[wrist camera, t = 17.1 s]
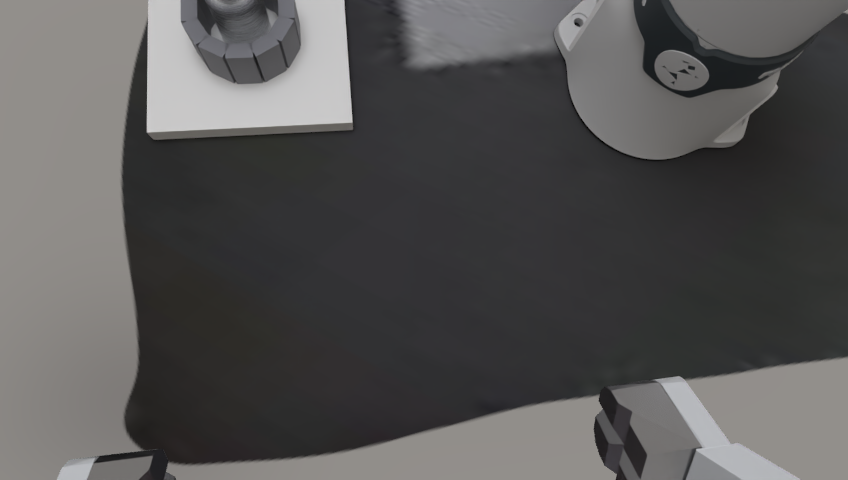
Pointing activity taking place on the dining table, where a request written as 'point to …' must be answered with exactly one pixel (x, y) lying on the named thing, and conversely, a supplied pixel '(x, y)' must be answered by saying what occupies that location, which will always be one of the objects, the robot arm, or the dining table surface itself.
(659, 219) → the dining table surface
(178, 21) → the collar plate
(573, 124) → the dining table surface
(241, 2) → the silver peg
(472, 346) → the dining table surface
